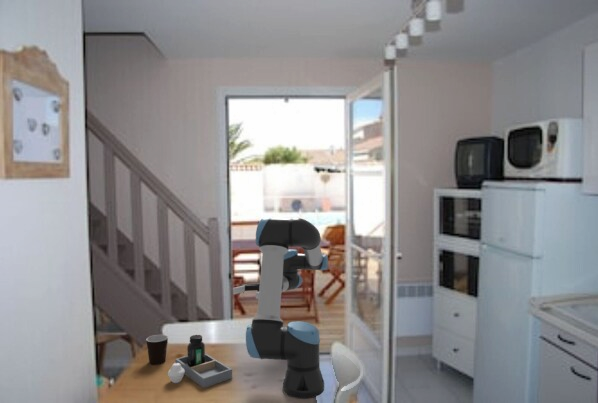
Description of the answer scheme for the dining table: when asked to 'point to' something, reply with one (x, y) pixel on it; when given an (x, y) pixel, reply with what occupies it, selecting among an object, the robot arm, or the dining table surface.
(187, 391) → the dining table surface
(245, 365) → the dining table surface
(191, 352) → the supplement bottle
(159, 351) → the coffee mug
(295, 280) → the robot arm
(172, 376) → the white lumpy chunk
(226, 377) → the caddy
